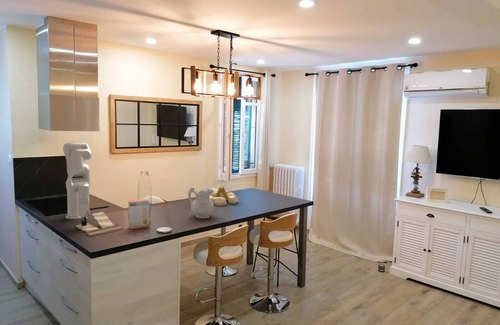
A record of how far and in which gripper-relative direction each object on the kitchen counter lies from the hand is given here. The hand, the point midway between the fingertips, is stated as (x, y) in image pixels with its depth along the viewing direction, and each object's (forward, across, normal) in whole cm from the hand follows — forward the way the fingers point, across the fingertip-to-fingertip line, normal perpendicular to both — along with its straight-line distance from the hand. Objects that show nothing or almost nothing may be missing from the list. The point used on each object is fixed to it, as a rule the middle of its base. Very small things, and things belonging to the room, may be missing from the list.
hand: (84, 225), depth 270 cm
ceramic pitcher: (+2, +35, +84) cm, 91 cm away
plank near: (+1, +6, 0) cm, 6 cm away
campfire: (+2, +7, +134) cm, 135 cm away
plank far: (-2, +7, +11) cm, 13 cm away
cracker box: (+2, +27, +28) cm, 39 cm away
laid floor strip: (+1, +20, +6) cm, 20 cm away
